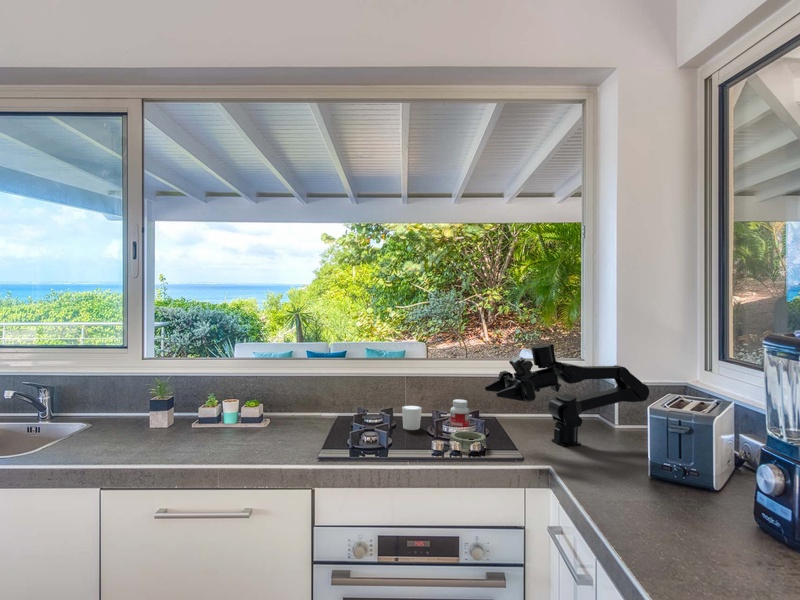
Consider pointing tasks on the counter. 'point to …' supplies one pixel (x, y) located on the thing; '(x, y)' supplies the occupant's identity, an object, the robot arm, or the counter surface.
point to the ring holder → (467, 439)
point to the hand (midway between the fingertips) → (490, 391)
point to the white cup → (411, 417)
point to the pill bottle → (459, 413)
